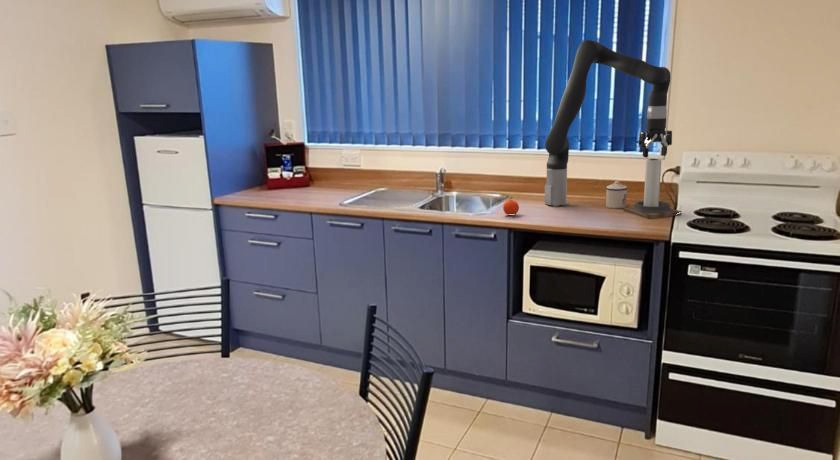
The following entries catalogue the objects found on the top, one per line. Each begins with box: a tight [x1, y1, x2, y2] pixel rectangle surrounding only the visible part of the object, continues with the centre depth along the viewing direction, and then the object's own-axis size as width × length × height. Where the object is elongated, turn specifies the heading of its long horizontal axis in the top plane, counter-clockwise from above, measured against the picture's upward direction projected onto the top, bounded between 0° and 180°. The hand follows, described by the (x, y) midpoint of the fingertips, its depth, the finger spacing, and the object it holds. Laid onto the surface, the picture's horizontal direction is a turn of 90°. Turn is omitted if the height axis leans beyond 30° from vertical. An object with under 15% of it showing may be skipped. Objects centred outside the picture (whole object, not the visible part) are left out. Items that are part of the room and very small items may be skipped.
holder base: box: [623, 200, 682, 220], centre depth 250 cm, size 16×17×4 cm
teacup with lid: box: [605, 180, 628, 209], centre depth 266 cm, size 12×9×12 cm
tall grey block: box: [643, 158, 662, 207], centre depth 248 cm, size 7×6×21 cm
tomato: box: [502, 199, 520, 215], centre depth 258 cm, size 8×7×7 cm
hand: (654, 156), depth 245 cm, fingers open, 8 cm apart
